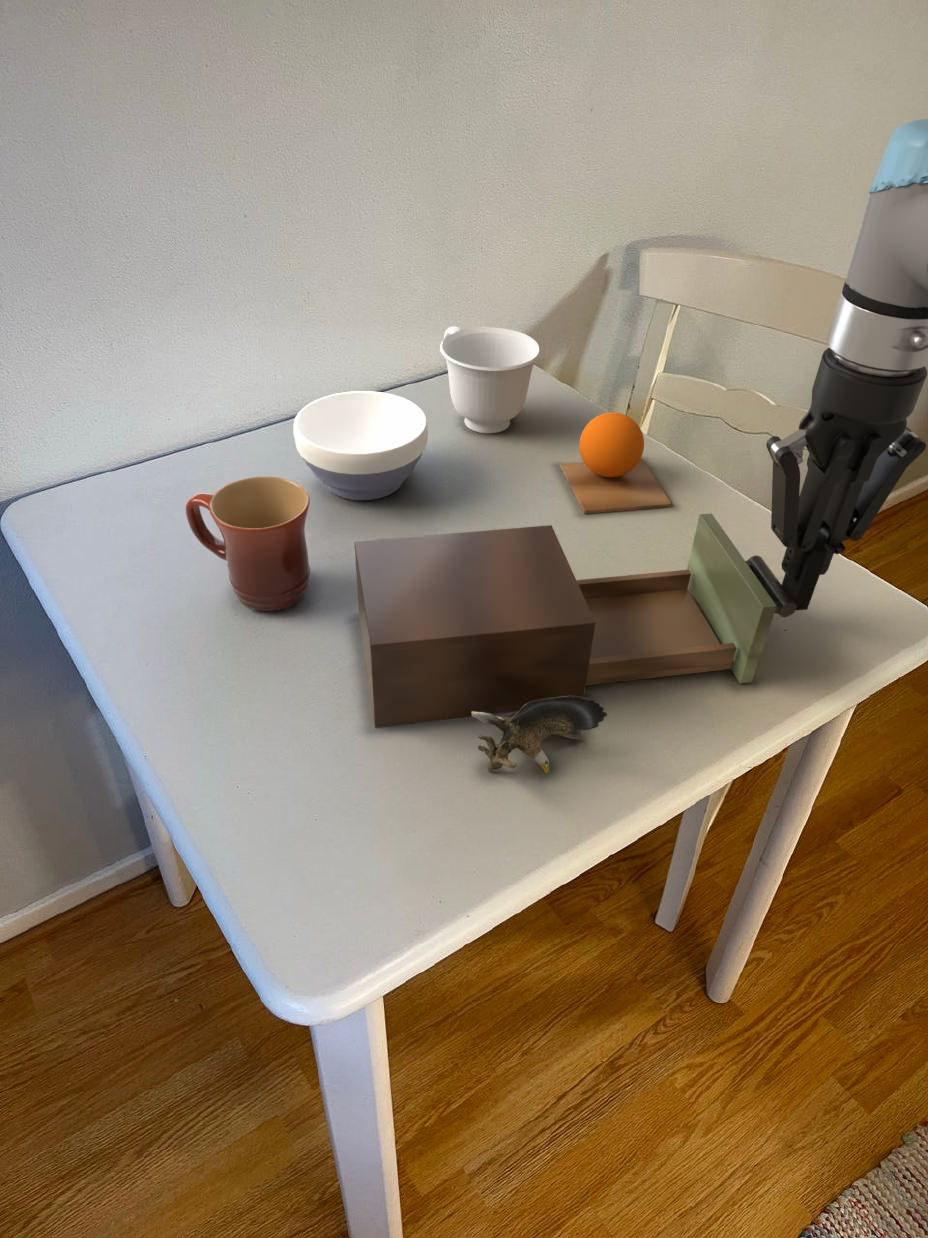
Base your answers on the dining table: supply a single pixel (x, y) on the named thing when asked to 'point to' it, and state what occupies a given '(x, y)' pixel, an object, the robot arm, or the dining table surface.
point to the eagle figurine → (539, 727)
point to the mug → (258, 538)
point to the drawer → (685, 614)
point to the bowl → (361, 442)
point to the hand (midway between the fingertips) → (793, 600)
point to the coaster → (614, 489)
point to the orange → (611, 444)
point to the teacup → (488, 374)
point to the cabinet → (470, 623)
